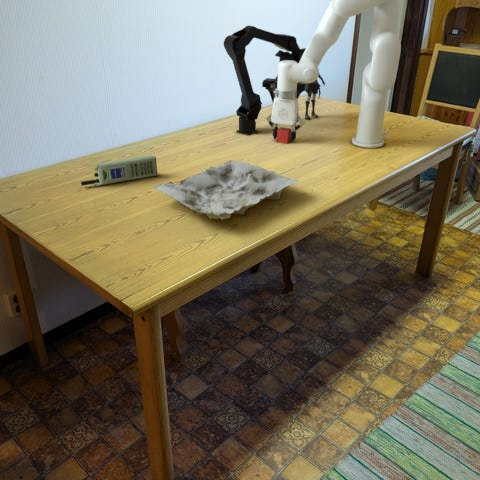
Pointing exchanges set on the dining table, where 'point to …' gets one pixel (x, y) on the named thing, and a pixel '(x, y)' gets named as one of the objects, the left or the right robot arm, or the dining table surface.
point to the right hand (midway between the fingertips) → (284, 138)
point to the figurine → (312, 92)
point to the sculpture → (227, 189)
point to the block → (284, 135)
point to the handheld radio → (124, 170)
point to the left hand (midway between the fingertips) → (283, 105)
